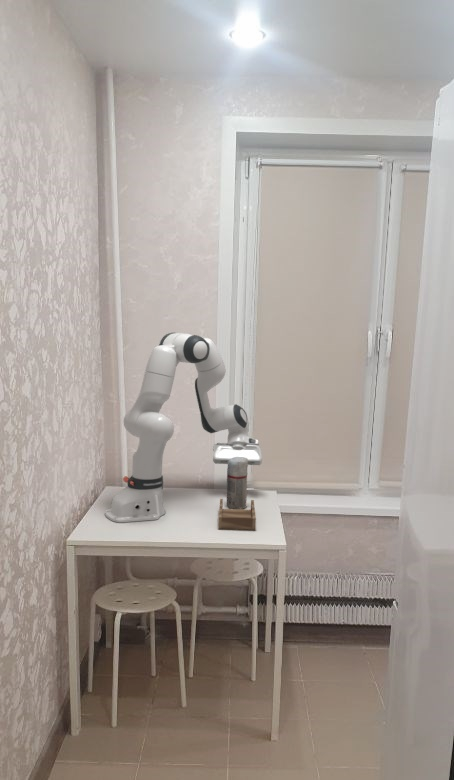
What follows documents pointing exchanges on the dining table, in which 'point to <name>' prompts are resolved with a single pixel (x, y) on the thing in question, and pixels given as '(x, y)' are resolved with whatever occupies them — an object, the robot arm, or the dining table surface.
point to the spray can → (237, 482)
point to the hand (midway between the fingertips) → (237, 472)
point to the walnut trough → (237, 518)
